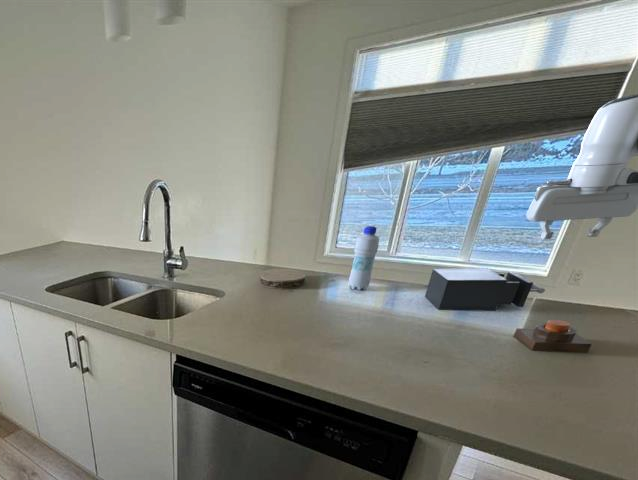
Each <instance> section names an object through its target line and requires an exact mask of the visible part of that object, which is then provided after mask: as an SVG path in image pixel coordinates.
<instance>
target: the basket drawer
mask: <svg viewBox="0 0 638 480" xmlns="http://www.w3.org/2000/svg"><path fill="white" fill-rule="evenodd" d="M495 273H496V272H495ZM496 274H498V275H500V276H501V277H503V278H505V279H507V283H506V285H505V288H504V290H503V293H502V295H501V298H500V300H499V303H498V305H497V306H511V305H514V306H516V307H517V308H524V306H525V303H526V301H527V299H528V297H529V295H530V293H535V292H536V293H538V294H543V293H544V292H545V291H546V289H545V288H543V287H541V286H540V285H538V284H536V283H534V282H533V281H532V280H530V279H527V278H526V277H523V276H522V275H520V274H517V273H516V272H514V271H508V272H507V273H503V272H502V273H499V272H497V273H496ZM505 274H506V276H505Z"/></svg>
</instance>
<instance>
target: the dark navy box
mask: <svg viewBox="0 0 638 480" xmlns="http://www.w3.org/2000/svg"><path fill="white" fill-rule="evenodd" d="M506 283H507V279H506V277H504V278H503V277H501V276H500V275H498V274H496V272H494V271H493V270H491V269H489V268H433V269H432V272H431V274H430V277H429V282H428V284H427V288H426V291H425V294H424V298H426V300H427V301H428V302H430V303H431V304H432V305H433V306H434V307H435V308H436V309H437V310H438V311H496V310H497V308H498V306H499V305H498V303H499V300H500V298H501V295H502V293H503V290H504V288H505V285H506Z"/></svg>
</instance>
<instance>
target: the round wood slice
mask: <svg viewBox="0 0 638 480" xmlns="http://www.w3.org/2000/svg"><path fill="white" fill-rule="evenodd" d="M306 277H307V274H306V272H304V271H302V270H298V269H292V268H272V269H267V270H264V271H262V272H260V273H259V281H258V282H259V285H260V286H262V287H265V288H269V289H274V290H290V289H292V290H293V289H297V288H301V287H303V286H304V285H305V284H306Z"/></svg>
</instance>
